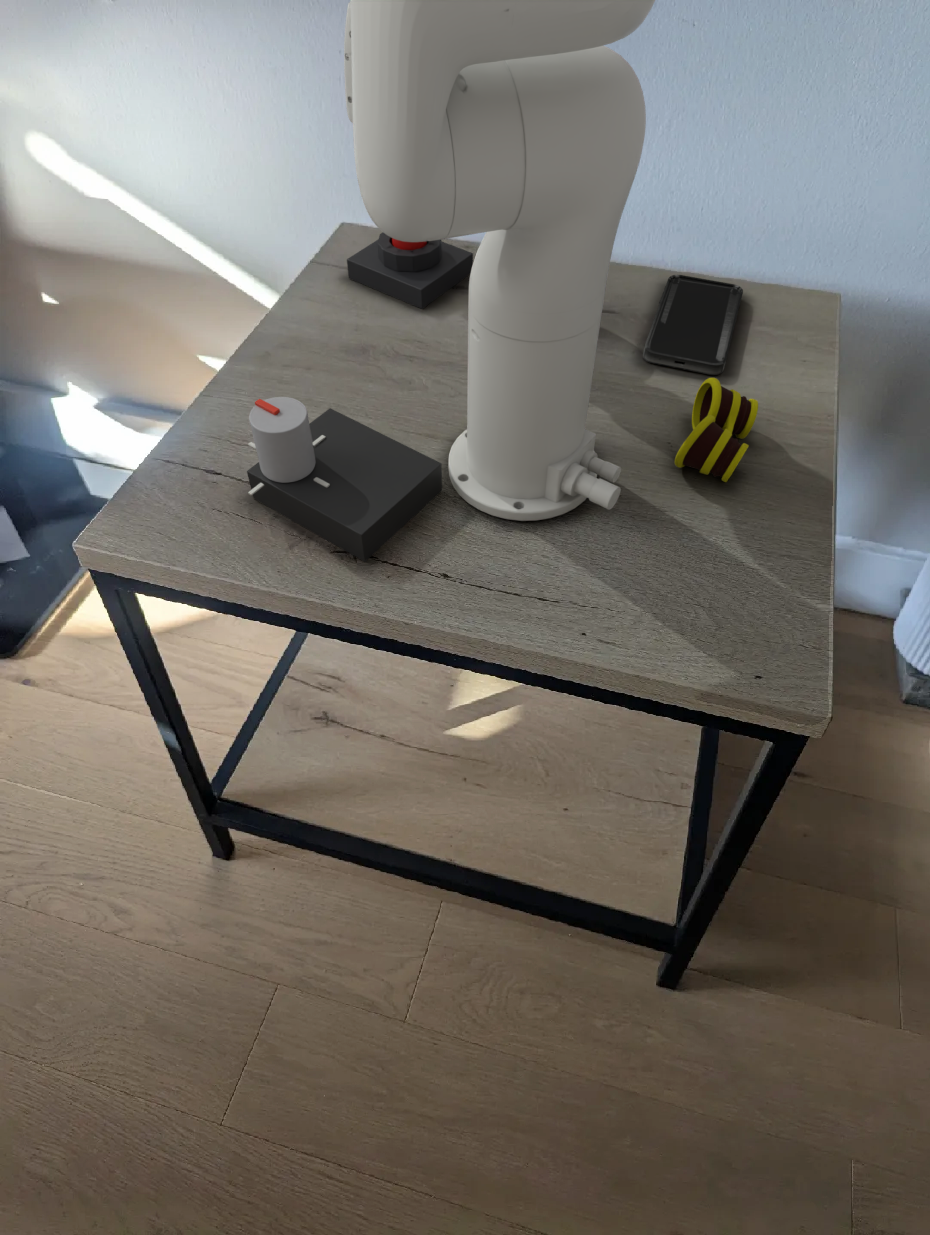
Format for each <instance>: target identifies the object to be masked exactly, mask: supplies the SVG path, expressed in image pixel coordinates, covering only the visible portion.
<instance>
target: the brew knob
mask: <svg viewBox="0 0 930 1235" xmlns="http://www.w3.org/2000/svg"><path fill="white" fill-rule="evenodd" d="M248 415H249V416H248V422H249V425H250V430H251V434H252V439H253V443H254V444H255V447H256V449H255V450H256V451H255V452H256V455H257V460H258V462H259V464H260V469H261V471H262V473H263V474H264V476H266V477H267V478H268V479H270V480H272V481H275V482H281V483H289V482H295V481H298V480H301V479H303V478H305V477H306V476H308V475H309V474H310V473H311V472H312V471H313V469H314V467H315V463H316V460H315V454H314V448H313V442H312V436H311V430H310V418H309V412H308V409H307V407H306V405H305V404H304V403H303V402H302V401H300V400H298V399H296V398H293V397H291V396H273V397H270V398H266V399H261V398H258V399H257V400H256V401H254V406H253V407H252V408H251V410H250V411H249V414H248Z"/></svg>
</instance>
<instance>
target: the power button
mask: <svg viewBox="0 0 930 1235" xmlns="http://www.w3.org/2000/svg"><path fill="white" fill-rule="evenodd" d="M392 244H393V246H394V247H396V248H399V249H401V250H415V249H420V248H423V247H424V246H426V244H427V241H424V242H404V241H400V240H396V239H393V238H392Z"/></svg>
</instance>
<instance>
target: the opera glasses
mask: <svg viewBox="0 0 930 1235" xmlns="http://www.w3.org/2000/svg"><path fill="white" fill-rule="evenodd" d="M758 410H759V401H758V400H757V399H754V398H749V399H747V396H745V395H742V396H741V393H740V392H738V391H737V390H735V389H734V388H733V389H728V388H726V387H724V386H722V385H721V382H720V380H719V379H718V378H717V377H716V378H715V377H707V379H705V380H704V381H703V382H702V383H701V385H700V386H699V388H698V390H697V392H696V395H695V397H694V402H693V405H692V412H691V426H692V431H691V432H690V433H689V435H688V436H687V437H686V439H685V440H684V441H683V443H682V444H681V445H680V448H679V449H678V451H677V452H676V455H675V458H674V465H675V467H677V468H680V469H681V468H684V467H685V466H686V467H689V468H693V469H696V470H699V474H703V475H706V476H708V475H709V474H712V475H713V477H720V478H721V481H722V482H724V483H728V481H729V479H730V477H731V476H732V475H733V473H734V471H735V469H736V468H737V466H738V465H739V463H740V462H741V460H742V459H743V457H744V455H745V454H746V452H747V450H748V448H749V447H750V445H749V444H747V443H745V442H743V443H742V444H741V443H740V442H739V439H741V440H744V439H745V438H747V436H748V435H749V433H750V432H751V430H752V428H753V427H754V424H755V421H756V419H757V416H758V412H759V411H758ZM734 435H735V437H736V438H734V437H733V436H734Z"/></svg>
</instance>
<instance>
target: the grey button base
mask: <svg viewBox="0 0 930 1235" xmlns="http://www.w3.org/2000/svg"><path fill="white" fill-rule="evenodd" d="M473 262H474V253H473V252H472V251H468V250H466V249H463V248H461V247H458V246H454V245H452V244H450V243H447V242H445V241H442V239H441V240H433V241H427V244H426V246H424V247H423V248H420V249H415V250H401V249H399V248H396V247H394V246H393V244H392V238H391V237H389V236H388V235H386V234H385V233H383V232H382V231H381V232H380V233H379V236H378V238H377V239H376V240H375V241H372V242H371V243H370V244H369V245H367V246H365V247H363V248H362V249H361V250H359V251H358V252H356V253H354V254H353V255H351V256H349V257H348V258H347V259H346V264H347V274H348V275H347V276H348V279H349V280H352V281H354V282H357V283H358V284H361V285H363V286H366V287H368V288H371V289H374V290H375V291H378V292H379V293H383V294H385V295H388V296H390V297H392V298H394V299H397V300H400V301H402V302H404V303H407V304H409V305H411V306H414V307H416V308H419V309H422V310H423V309H425V307H428V306H429V305H430V304H431V303H432V302H434V301H435V300H437V299H438V298H439V297H442V295H443V294H445V293H446V292H448V291H449V290H450V289H452V288H453V287H454V286H456V285H457V284H459V283H460V282H462V281H463V280H464V279H466V278H467V277H468V276H470V274H471V269H472V265H473Z"/></svg>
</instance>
